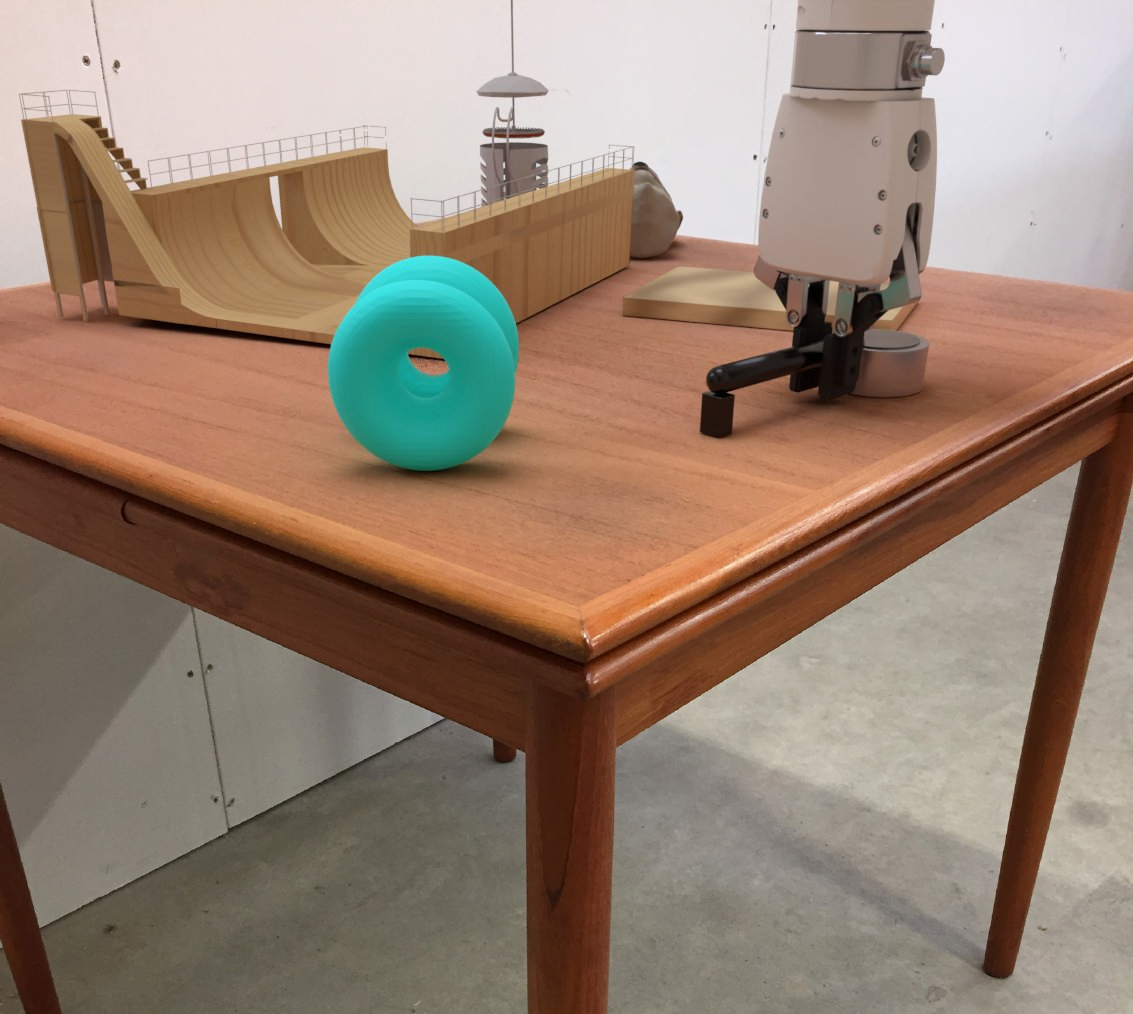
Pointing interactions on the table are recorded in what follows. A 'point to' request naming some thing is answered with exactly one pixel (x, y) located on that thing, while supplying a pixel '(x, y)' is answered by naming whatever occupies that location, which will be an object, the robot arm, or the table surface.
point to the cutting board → (728, 300)
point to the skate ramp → (298, 234)
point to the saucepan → (884, 368)
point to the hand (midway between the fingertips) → (821, 390)
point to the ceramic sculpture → (651, 214)
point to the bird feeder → (514, 154)
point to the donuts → (405, 394)
